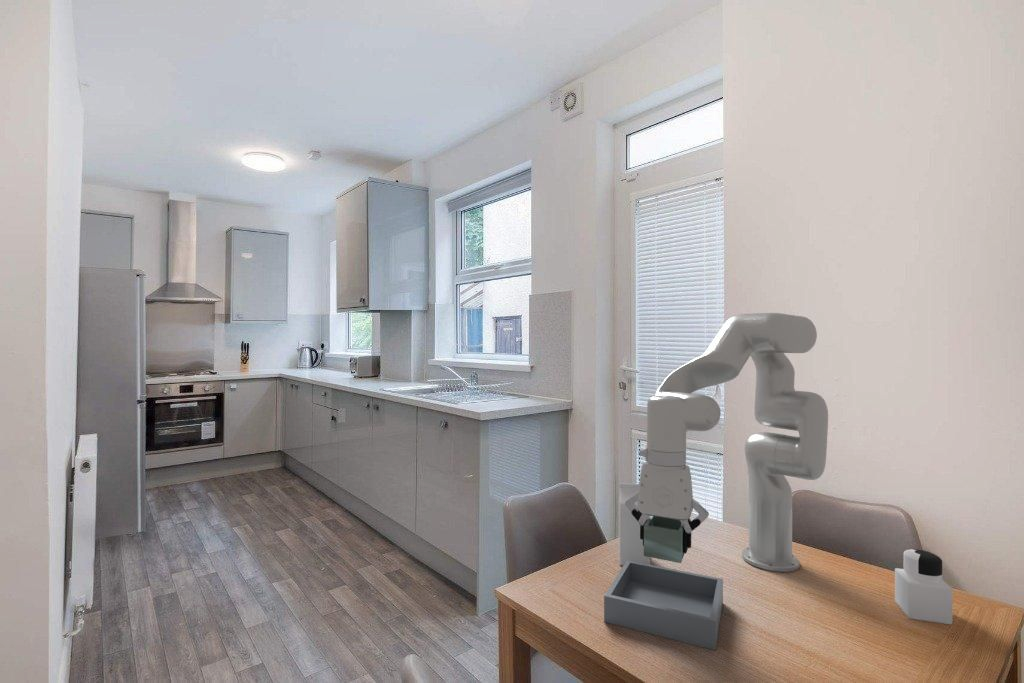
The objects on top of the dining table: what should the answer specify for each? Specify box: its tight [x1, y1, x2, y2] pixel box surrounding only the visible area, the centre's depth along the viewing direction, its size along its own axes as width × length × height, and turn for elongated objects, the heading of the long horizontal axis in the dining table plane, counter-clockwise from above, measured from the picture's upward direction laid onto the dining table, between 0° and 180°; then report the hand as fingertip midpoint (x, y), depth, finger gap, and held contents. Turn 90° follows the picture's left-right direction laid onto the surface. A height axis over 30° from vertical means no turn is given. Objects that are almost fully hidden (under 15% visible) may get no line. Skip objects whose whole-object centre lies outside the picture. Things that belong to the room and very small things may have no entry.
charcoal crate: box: [603, 560, 724, 651], centre depth 101 cm, size 18×20×5 cm
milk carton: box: [619, 482, 651, 566], centre depth 125 cm, size 7×7×19 cm
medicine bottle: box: [894, 548, 953, 626], centre depth 101 cm, size 7×7×12 cm
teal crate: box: [644, 516, 686, 564], centre depth 101 cm, size 7×7×6 cm
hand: (665, 546), depth 101 cm, fingers closed on teal crate, 7 cm apart
